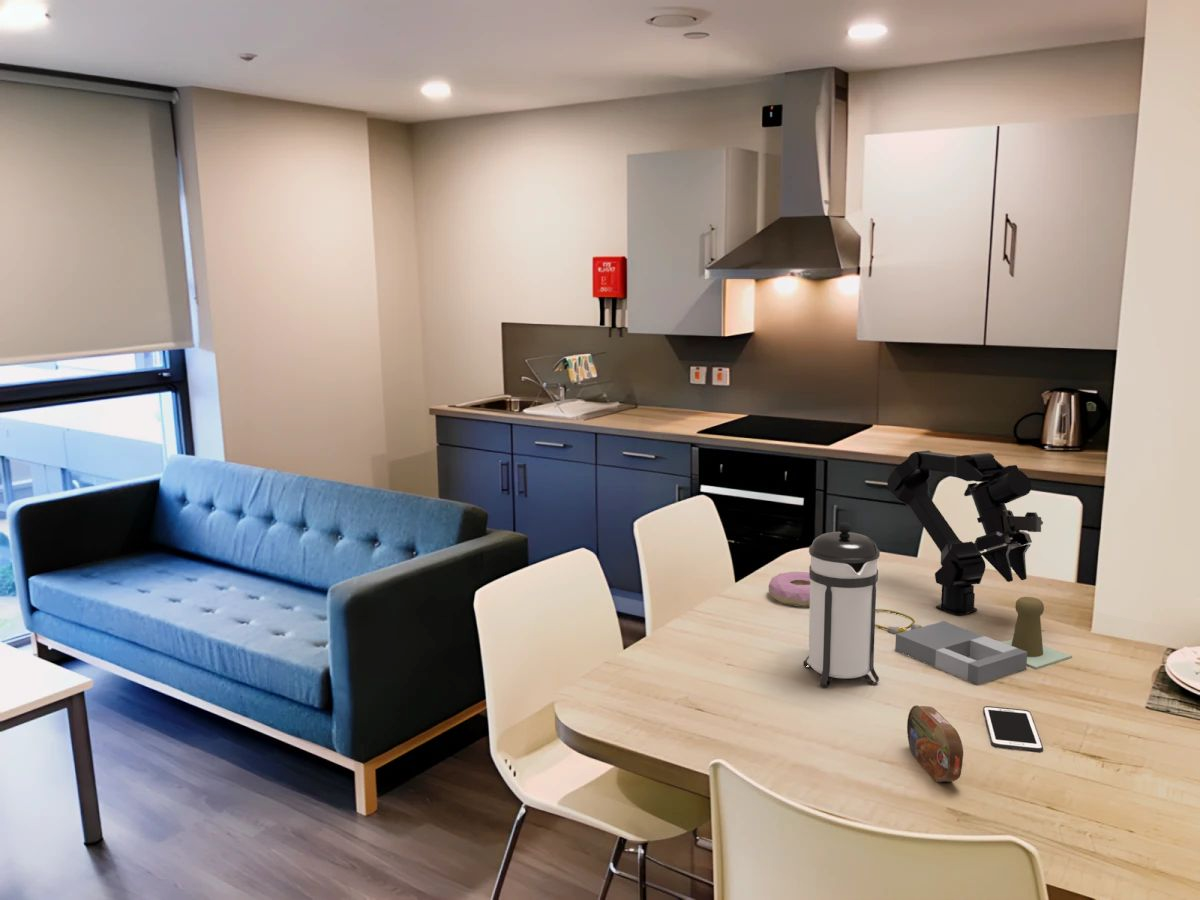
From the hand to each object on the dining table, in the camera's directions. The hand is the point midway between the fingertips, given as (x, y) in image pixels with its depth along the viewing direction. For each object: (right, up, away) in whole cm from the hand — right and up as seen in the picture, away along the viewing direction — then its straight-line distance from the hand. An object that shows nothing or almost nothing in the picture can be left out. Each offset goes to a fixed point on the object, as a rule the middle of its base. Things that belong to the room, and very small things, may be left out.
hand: (1017, 580), depth 204 cm
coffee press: (-42, -16, -17) cm, 48 cm away
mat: (-2, -13, -9) cm, 16 cm away
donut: (-40, -8, +27) cm, 49 cm away
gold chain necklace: (-24, -11, +9) cm, 28 cm away
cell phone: (-19, -20, -41) cm, 49 cm away
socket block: (-16, -14, -11) cm, 24 cm away
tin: (-36, -22, -53) cm, 68 cm away
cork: (-2, -13, -9) cm, 16 cm away
